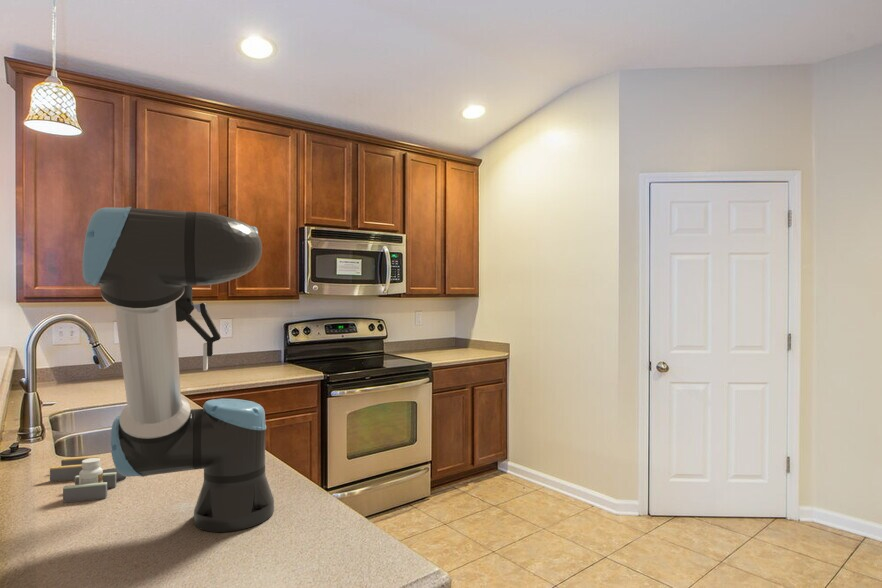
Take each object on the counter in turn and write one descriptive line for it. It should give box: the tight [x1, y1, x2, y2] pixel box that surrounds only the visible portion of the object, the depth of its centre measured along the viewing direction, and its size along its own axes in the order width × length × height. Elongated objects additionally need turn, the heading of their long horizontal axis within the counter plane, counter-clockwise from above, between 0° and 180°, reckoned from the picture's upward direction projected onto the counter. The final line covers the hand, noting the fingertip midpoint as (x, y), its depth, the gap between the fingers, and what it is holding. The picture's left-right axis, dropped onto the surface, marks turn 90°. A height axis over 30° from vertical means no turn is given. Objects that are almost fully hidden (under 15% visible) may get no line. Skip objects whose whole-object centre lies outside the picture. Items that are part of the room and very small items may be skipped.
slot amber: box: [49, 455, 100, 483], centre depth 127 cm, size 8×8×3 cm
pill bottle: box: [79, 457, 104, 485], centre depth 115 cm, size 4×4×8 cm
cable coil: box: [103, 467, 127, 484], centre depth 124 cm, size 7×7×2 cm
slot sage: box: [62, 472, 117, 503], centre depth 115 cm, size 8×8×3 cm
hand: (174, 371), depth 123 cm, fingers open, 13 cm apart
